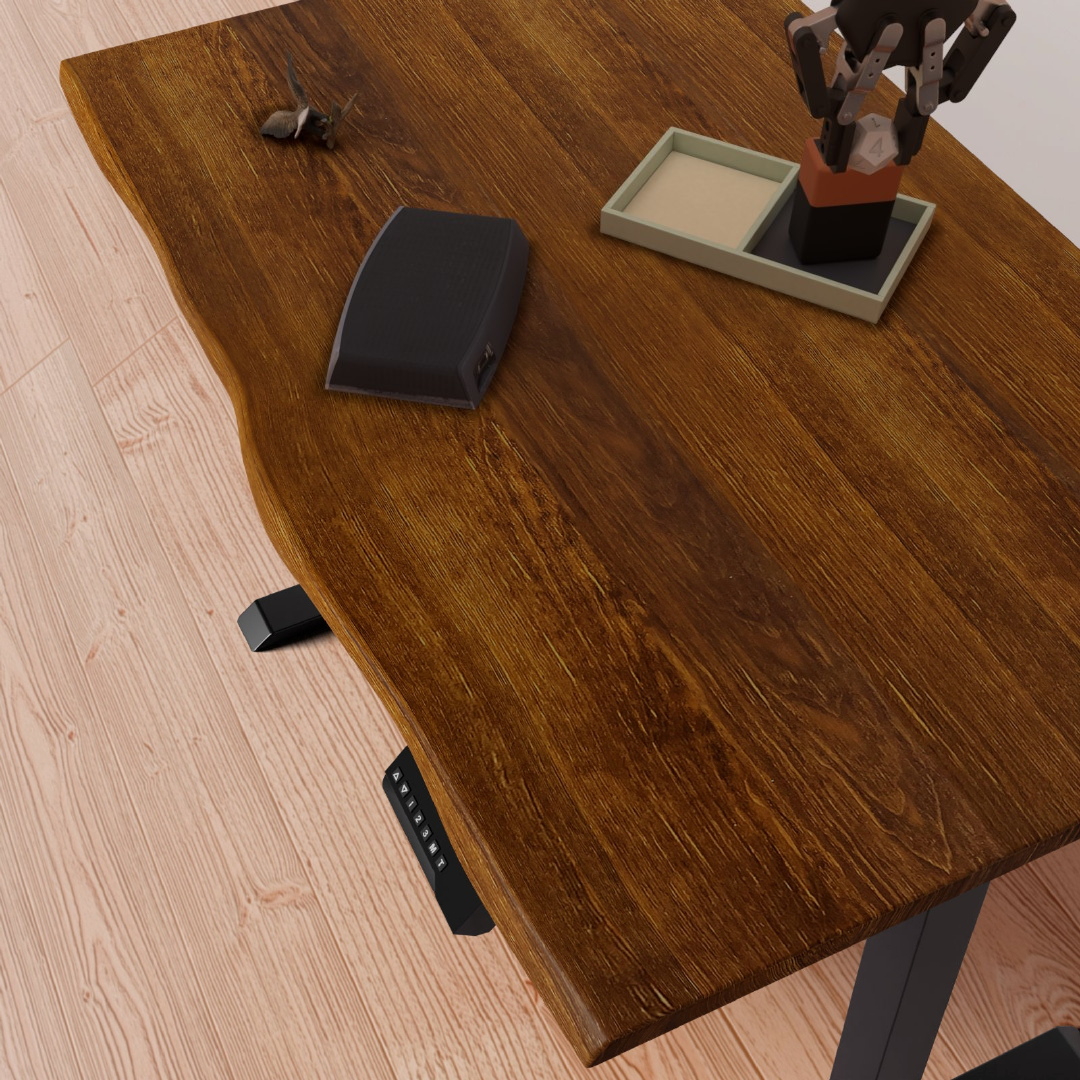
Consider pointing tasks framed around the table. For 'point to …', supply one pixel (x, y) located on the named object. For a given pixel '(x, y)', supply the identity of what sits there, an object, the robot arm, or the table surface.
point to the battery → (840, 209)
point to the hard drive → (431, 308)
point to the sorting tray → (752, 223)
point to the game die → (873, 144)
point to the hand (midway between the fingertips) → (866, 161)
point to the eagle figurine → (305, 114)
